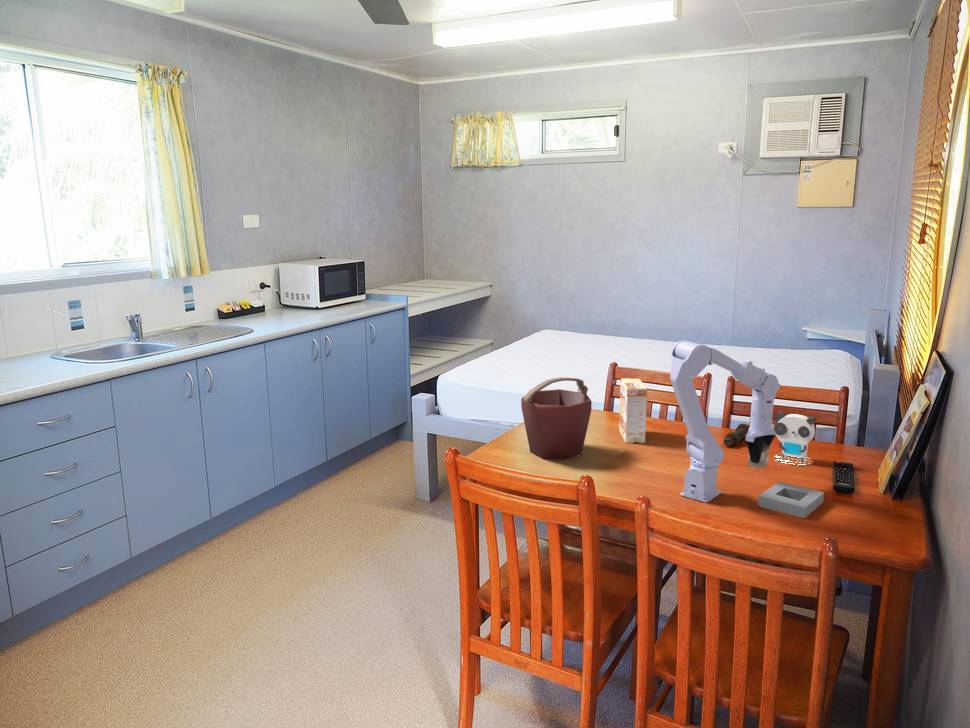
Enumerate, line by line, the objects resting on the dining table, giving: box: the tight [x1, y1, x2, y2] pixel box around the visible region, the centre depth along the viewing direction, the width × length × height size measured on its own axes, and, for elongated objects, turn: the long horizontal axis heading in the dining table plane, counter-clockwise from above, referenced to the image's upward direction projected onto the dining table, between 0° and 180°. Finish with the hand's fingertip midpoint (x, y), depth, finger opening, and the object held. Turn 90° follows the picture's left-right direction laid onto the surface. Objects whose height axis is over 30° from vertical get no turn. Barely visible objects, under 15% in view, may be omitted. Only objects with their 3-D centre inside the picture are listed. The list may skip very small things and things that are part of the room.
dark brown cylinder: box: [723, 423, 750, 447], centre depth 242 cm, size 6×5×15 cm
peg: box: [747, 445, 770, 470], centre depth 200 cm, size 4×4×6 cm
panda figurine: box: [774, 411, 817, 467], centre depth 223 cm, size 12×11×15 cm
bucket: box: [520, 376, 593, 461], centre depth 231 cm, size 24×22×25 cm
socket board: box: [757, 481, 825, 519], centre depth 190 cm, size 14×12×3 cm
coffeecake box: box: [618, 377, 648, 444], centre depth 248 cm, size 15×7×20 cm, turn 178°
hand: (758, 460), depth 201 cm, fingers closed on peg, 4 cm apart
